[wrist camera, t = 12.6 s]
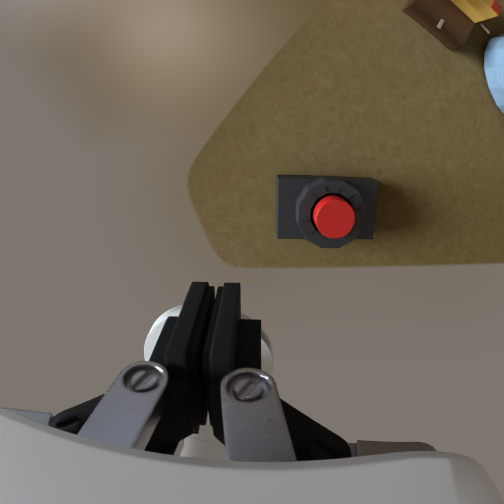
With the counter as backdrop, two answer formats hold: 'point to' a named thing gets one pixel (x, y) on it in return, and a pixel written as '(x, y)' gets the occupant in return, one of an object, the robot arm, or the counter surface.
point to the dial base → (442, 20)
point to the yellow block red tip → (478, 9)
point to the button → (333, 216)
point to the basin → (495, 68)
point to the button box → (307, 196)
